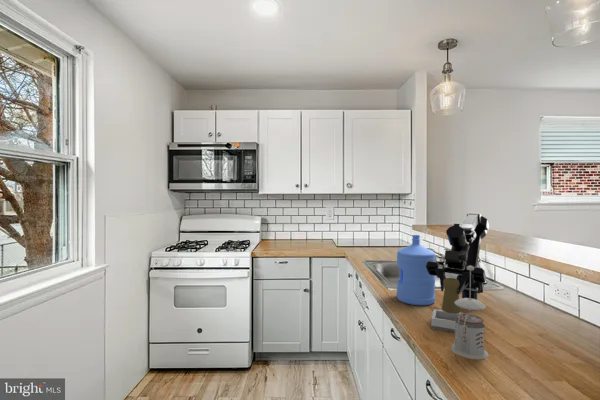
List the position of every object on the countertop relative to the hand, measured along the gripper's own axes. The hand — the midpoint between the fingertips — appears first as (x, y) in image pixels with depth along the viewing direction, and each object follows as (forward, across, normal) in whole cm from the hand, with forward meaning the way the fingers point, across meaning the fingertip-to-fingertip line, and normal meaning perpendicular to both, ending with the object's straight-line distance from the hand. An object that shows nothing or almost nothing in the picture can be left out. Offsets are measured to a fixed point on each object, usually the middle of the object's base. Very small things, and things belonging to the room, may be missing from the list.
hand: (450, 292), depth 112 cm
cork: (+4, 0, +6) cm, 7 cm away
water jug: (-6, -20, +24) cm, 32 cm away
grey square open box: (+8, -1, +10) cm, 12 cm away
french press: (+19, +9, -2) cm, 21 cm away
